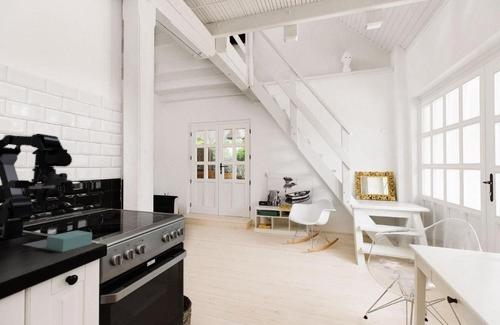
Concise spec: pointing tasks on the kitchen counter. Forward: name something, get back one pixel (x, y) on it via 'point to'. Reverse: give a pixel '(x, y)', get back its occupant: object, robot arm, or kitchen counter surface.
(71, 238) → the teal block
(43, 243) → the slate mat
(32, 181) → the robot arm
